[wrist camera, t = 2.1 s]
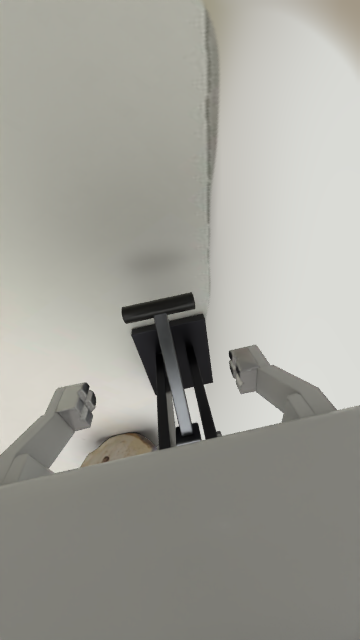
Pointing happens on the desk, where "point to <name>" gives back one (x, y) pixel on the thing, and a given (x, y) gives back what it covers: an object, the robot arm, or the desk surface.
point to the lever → (169, 355)
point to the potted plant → (120, 448)
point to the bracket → (192, 368)
